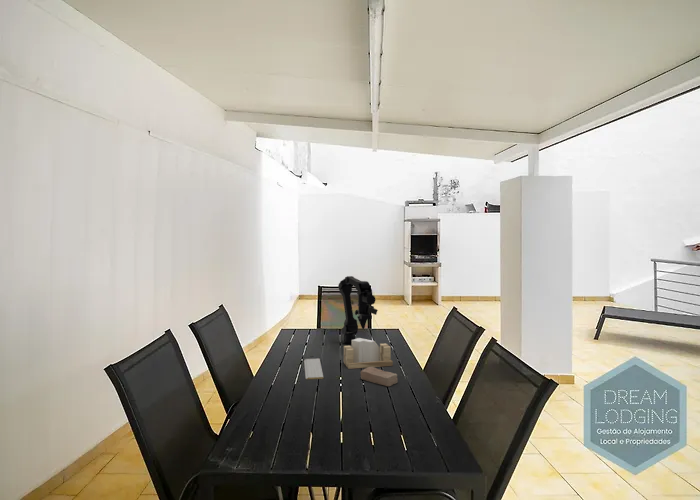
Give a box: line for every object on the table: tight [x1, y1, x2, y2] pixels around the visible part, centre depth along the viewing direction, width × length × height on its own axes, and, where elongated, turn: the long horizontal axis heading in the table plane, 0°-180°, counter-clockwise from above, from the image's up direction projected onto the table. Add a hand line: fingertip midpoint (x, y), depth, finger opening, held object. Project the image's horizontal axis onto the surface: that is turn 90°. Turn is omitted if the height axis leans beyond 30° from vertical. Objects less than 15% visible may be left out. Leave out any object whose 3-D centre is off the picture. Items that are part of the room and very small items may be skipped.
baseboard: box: [303, 355, 324, 380], centre depth 221 cm, size 30×3×10 cm
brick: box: [360, 367, 398, 387], centre depth 204 cm, size 16×8×5 cm, turn 51°
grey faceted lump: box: [351, 337, 381, 363], centre depth 234 cm, size 11×11×12 cm
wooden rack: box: [343, 343, 394, 370], centre depth 229 cm, size 12×24×9 cm, turn 103°
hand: (363, 328), depth 255 cm, fingers closed
